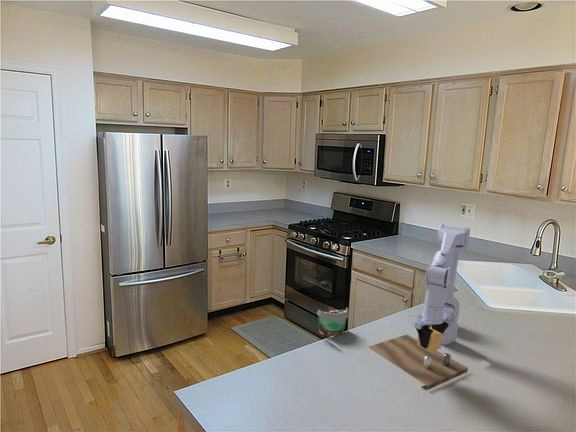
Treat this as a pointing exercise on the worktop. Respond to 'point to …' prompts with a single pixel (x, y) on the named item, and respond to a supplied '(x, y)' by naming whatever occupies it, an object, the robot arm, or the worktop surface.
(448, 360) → the dark post
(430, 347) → the peach wooden cube
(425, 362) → the steel post
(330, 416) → the worktop surface
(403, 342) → the walnut board
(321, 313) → the food container
